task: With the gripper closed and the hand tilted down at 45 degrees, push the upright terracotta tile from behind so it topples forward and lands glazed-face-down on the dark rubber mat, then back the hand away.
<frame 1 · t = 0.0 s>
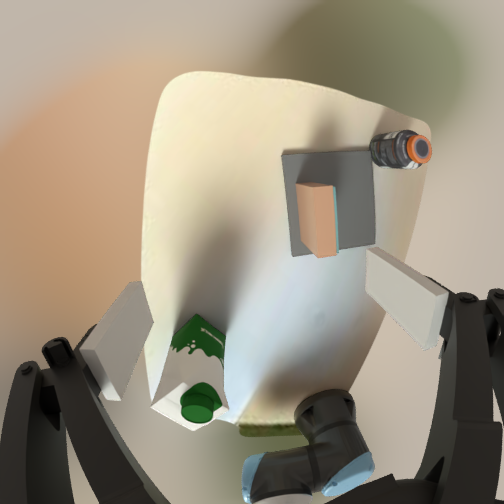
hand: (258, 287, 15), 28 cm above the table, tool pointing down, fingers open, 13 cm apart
milk carton: (198, 336, 48), on the table
mat: (332, 201, 42), on the table
tile: (307, 211, 42), point 1 cm above the table, touching mat
pill bottle: (382, 151, 41), on the table
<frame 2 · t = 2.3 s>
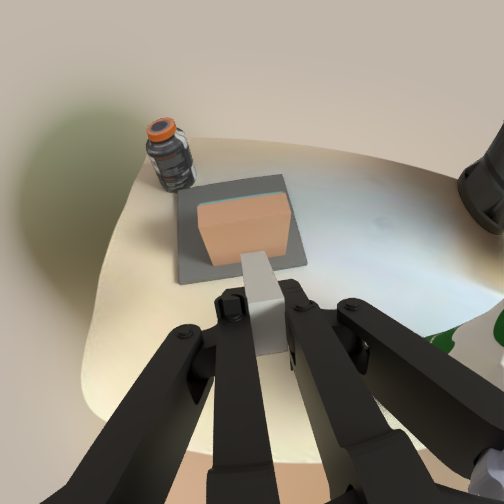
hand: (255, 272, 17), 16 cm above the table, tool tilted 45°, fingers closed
milk carton: (428, 373, 27), on the table
mat: (236, 225, 37), on the table
tile: (247, 250, 35), point 1 cm above the table, touching mat
pill bottle: (179, 180, 42), on the table
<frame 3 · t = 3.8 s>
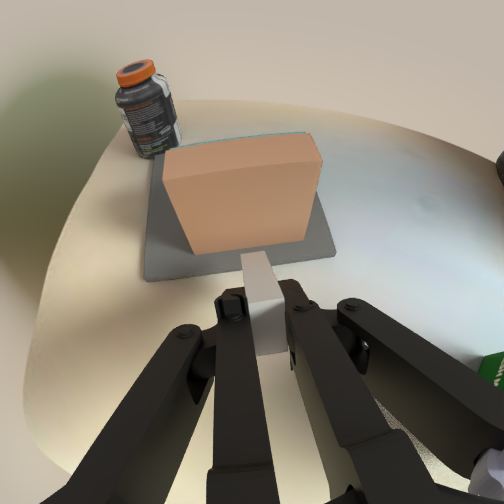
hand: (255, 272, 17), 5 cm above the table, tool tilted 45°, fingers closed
milk carton: (486, 403, 15), on the table
mat: (231, 198, 26), on the table
tile: (247, 232, 23), point 1 cm above the table, touching mat
pill bottle: (159, 145, 31), on the table
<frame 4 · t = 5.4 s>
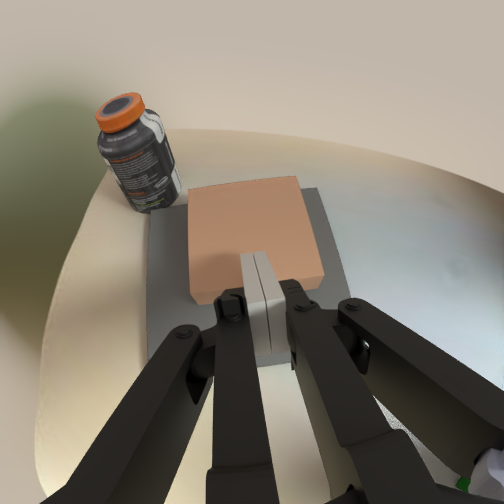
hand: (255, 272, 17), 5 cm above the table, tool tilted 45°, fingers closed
milk carton: (487, 466, 11), on the table
mat: (243, 275, 22), on the table
tile: (258, 292, 19), point 2 cm above the table, tilted 90°, touching gripper, mat
pill bottle: (156, 193, 27), on the table
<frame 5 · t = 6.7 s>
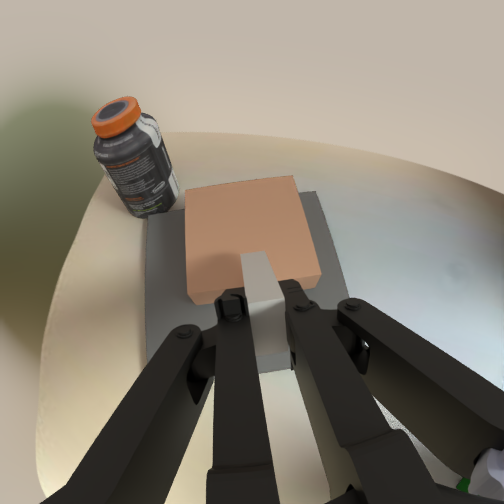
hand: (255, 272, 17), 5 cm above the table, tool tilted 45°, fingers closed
milk carton: (487, 467, 11), on the table
mat: (242, 280, 22), on the table
tile: (255, 292, 19), point 2 cm above the table, tilted 90°, touching mat
pill bottle: (153, 198, 27), on the table
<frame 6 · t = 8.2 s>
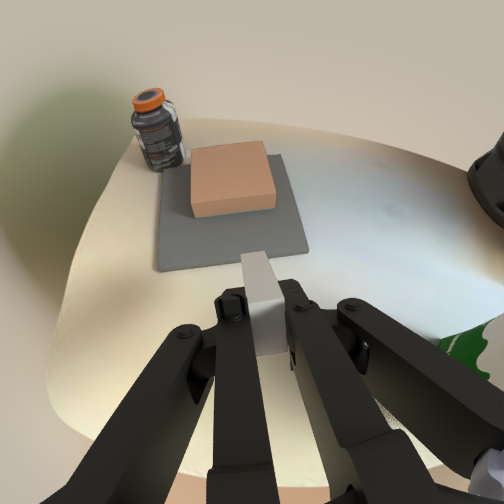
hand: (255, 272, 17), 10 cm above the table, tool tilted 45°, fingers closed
milk carton: (445, 380, 22), on the table
mat: (226, 206, 32), on the table
tile: (234, 206, 29), point 2 cm above the table, tilted 90°, touching mat
pill bottle: (167, 160, 37), on the table
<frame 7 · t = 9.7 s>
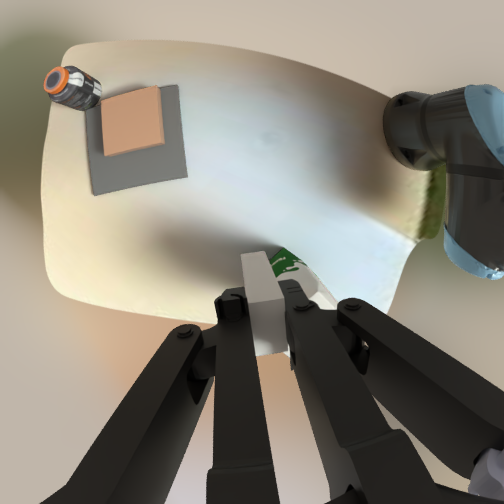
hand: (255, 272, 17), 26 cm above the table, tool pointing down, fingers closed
milk carton: (282, 275, 46), on the table
mat: (133, 140, 37), on the table
tile: (134, 149, 35), point 2 cm above the table, tilted 90°, touching mat
pill bottle: (88, 95, 34), on the table
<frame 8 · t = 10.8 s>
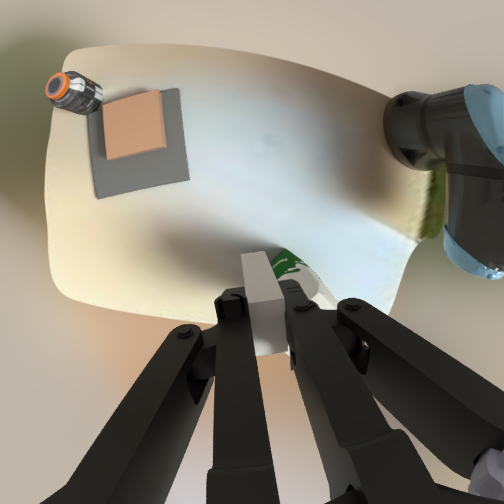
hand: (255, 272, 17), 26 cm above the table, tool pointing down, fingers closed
milk carton: (284, 276, 46), on the table
mat: (135, 143, 38), on the table
tile: (137, 153, 36), point 2 cm above the table, tilted 90°, touching mat
pill bottle: (90, 99, 35), on the table
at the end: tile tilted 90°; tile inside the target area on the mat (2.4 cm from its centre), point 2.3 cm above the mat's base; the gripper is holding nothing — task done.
